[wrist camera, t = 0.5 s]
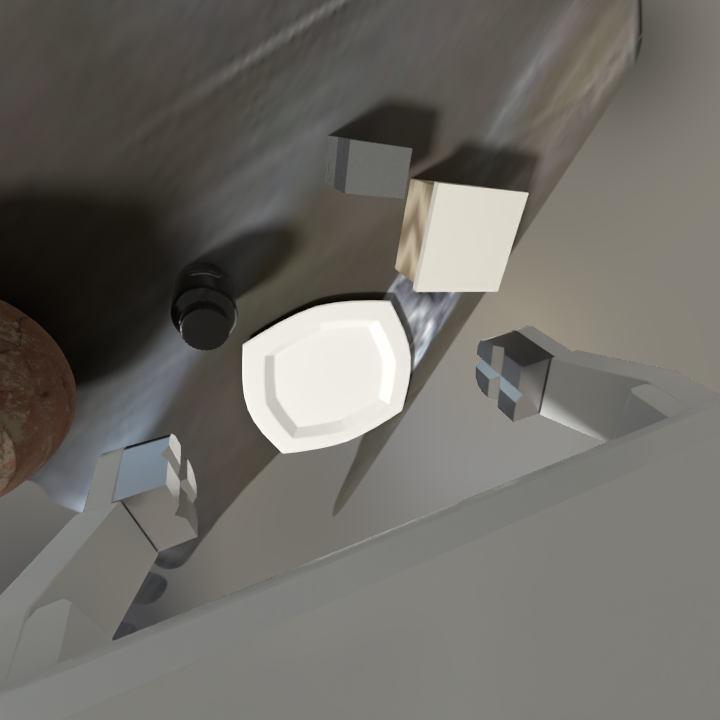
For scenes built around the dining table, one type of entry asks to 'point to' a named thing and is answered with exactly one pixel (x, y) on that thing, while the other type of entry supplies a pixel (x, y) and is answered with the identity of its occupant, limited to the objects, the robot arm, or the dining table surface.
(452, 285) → the stand
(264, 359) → the plate
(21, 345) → the jug
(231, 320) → the supplement bottle
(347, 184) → the block
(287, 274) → the dining table surface
